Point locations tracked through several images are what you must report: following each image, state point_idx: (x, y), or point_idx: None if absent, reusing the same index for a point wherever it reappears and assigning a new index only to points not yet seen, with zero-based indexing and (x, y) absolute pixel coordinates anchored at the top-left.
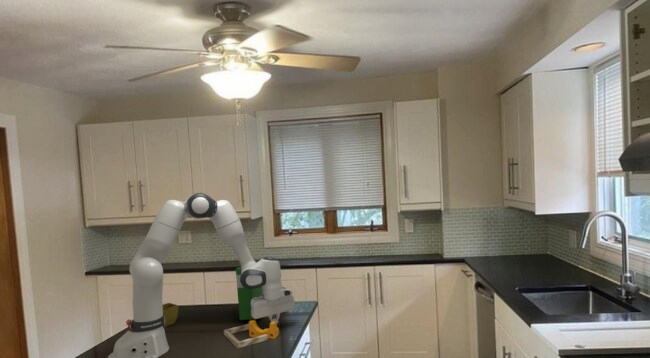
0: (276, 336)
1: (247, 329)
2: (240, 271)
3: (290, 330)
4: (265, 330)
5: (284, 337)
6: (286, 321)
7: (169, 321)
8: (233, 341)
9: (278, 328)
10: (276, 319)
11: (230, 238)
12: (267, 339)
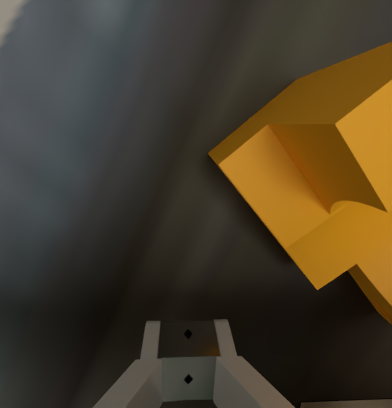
0: (261, 109)
1: (353, 403)
2: None
3: (56, 176)
4: (354, 233)
5: (196, 27)
6: (17, 387)
7: None
8: None
9: (221, 159)
10: (160, 365)
11: None
12: None
